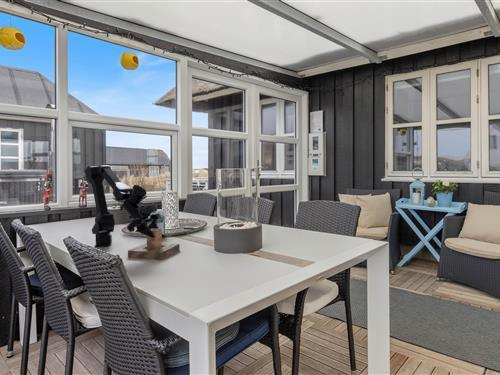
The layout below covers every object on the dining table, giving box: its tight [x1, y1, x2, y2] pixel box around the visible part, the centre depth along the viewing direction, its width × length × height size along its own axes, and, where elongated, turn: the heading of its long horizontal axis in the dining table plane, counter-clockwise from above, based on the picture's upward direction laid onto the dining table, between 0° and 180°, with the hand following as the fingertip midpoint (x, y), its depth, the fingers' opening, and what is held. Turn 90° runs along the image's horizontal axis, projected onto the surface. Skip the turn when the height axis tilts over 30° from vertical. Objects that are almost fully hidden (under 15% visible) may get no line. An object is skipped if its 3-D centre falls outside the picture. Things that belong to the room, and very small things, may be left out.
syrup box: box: [149, 208, 166, 234], centre depth 189 cm, size 6×6×14 cm
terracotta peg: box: [146, 228, 163, 250], centre depth 151 cm, size 5×5×10 cm
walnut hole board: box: [127, 242, 181, 261], centre depth 151 cm, size 16×16×3 cm
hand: (156, 236), depth 150 cm, fingers closed on terracotta peg, 5 cm apart
